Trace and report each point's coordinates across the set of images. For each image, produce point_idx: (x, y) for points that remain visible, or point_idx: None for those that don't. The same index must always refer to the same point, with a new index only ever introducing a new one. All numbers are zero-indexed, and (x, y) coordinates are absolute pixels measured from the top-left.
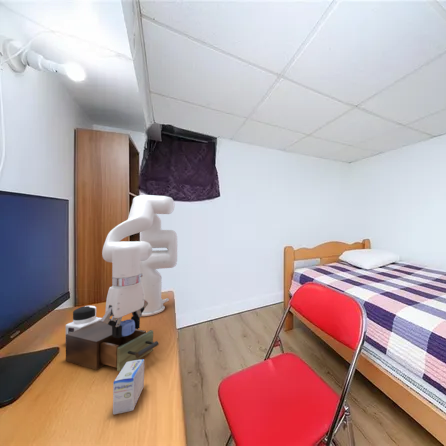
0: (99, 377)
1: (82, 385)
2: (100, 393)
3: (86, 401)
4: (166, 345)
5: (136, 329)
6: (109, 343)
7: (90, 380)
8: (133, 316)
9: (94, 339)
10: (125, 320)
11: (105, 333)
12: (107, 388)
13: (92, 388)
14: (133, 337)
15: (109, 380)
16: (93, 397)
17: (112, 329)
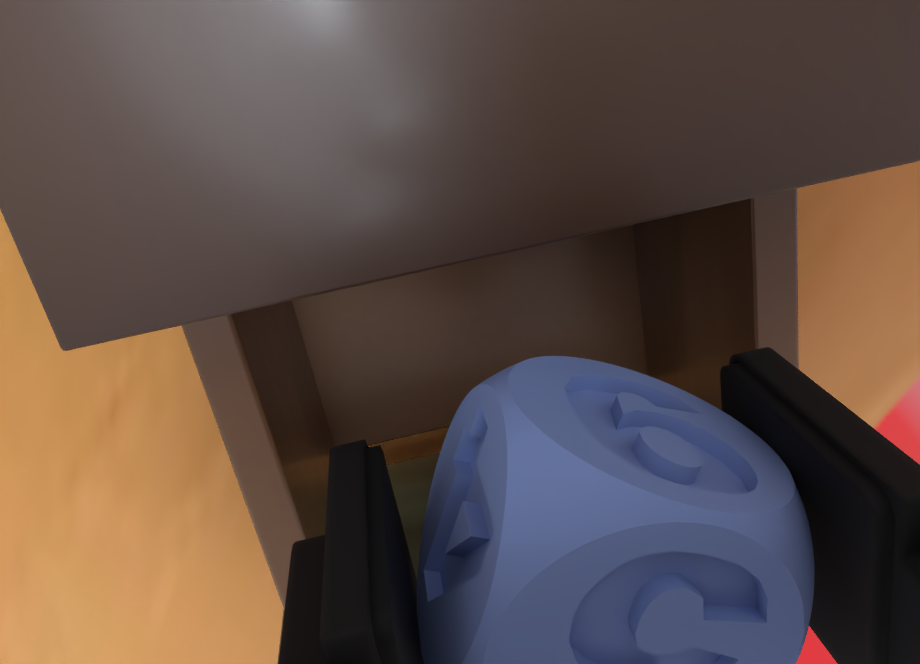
0: (170, 384)
1: (20, 379)
2: (112, 618)
3: (9, 628)
4: (833, 394)
5: (783, 308)
6: (262, 448)
7: (95, 360)
8: (918, 588)
9: (49, 192)
10: (691, 545)
11: (317, 74)
12: (170, 601)
13: (80, 503)
14: (683, 235)
15: (218, 509)
16: (60, 623)
17: (283, 657)
